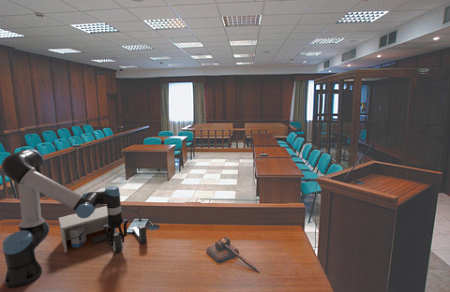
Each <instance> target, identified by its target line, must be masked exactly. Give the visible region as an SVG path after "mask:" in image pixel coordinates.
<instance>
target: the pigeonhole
mask: <svg viewBox="0 0 450 292" xmlns="http://www.w3.org/2000/svg"><path fill="white" fill-rule="evenodd" d="M58 222H59V229H60V235H61V242H62V246H63V251H64V253H68V247H67V241H68V240H71V236H70V229H72V228H73V227H74V226H78V225H81V224H84V225H85V234H86V235H90V234H93V233H96V232H99V231H103V230H105V229H104V227H103V226H104V225H107V224H108V213H107V205H105V206H101V207H96V209H95V210H94V212H93V213H92V214H91V215H90V216H89V217H88V218H80V217H78V216H77V214H76V213H72V214H69V215H65V216H61V217H58ZM108 229H110V230H111V227H110V226H108ZM117 229H118V228H115V230H114V233H116V232H118V230H117Z"/></svg>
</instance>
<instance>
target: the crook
mask: <svg viewBox="0 0 450 292" xmlns="http://www.w3.org/2000/svg"><path fill="white" fill-rule="evenodd" d="M110 236H111V231H110V232H109V238H110ZM105 240H106V241H107V238H106V233H104V234H100V235H96V236H94V237H91V242H92V244H96V243H99V242H102V241H105ZM114 241H115V249H116V251H115V252H114V253H115V254H117V253H120V252H122V251H123V249H122V244H121V234H120V232H119V231H117V232H116V233H114Z"/></svg>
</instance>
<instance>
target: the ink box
mask: <svg viewBox="0 0 450 292" xmlns="http://www.w3.org/2000/svg"><path fill="white" fill-rule="evenodd" d="M70 236H71V239H70V242H71V248H81V246H82V245H83V244H84V243H85V242H86V241H87V234H85V225H84V224H81V225H78V226H74V227H73V228H72V229H70Z"/></svg>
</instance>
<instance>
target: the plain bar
mask: <svg viewBox="0 0 450 292" xmlns="http://www.w3.org/2000/svg"><path fill="white" fill-rule="evenodd" d="M137 227H138V228H137ZM132 229H133V230H134V232H135V234H134V235H135V237H136V238H137V239H138V241H139V243H140V244H141V245H144V244H146V243H148V240H147V239H148V238H147V228H146V225H145V224H141V225H138V226H133V227H131V230H132Z"/></svg>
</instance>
